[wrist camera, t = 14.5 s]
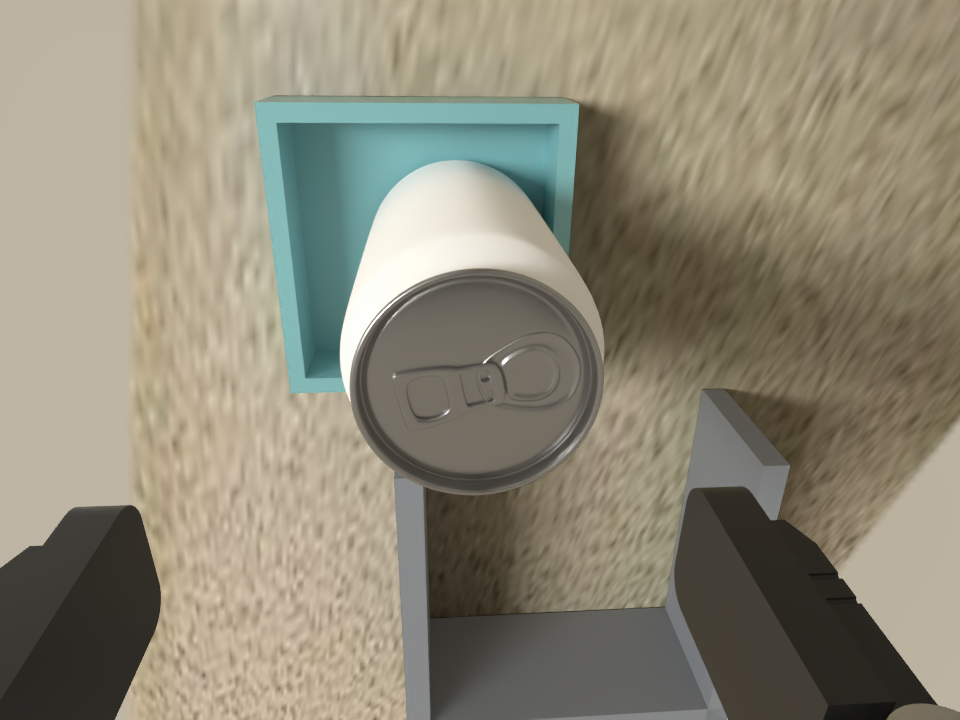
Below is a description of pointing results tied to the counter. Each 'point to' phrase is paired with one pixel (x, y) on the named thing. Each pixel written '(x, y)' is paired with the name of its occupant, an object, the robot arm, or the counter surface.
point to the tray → (384, 190)
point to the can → (469, 335)
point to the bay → (575, 618)
